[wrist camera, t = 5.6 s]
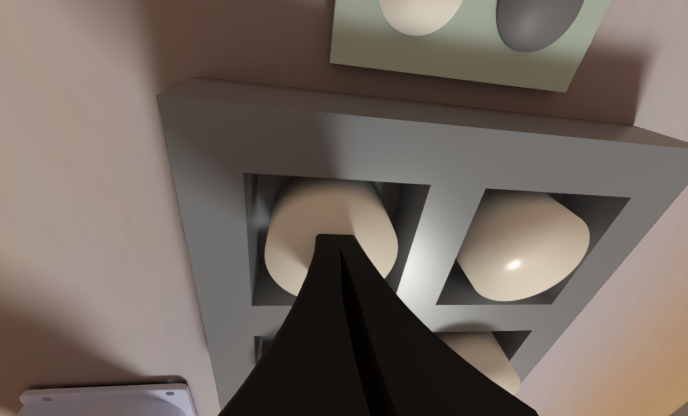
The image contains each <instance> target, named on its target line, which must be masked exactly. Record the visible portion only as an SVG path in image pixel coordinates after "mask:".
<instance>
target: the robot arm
mask: <svg viewBox="0 0 688 416" xmlns="http://www.w3.org/2000/svg"><path fill="white" fill-rule="evenodd" d="M19 400H20V402H21V403H22V404H23V405H24V406H23V407H22V409H21V410H20V411H19V413H18V414H17V415H16V416H197V414H196V411H195V408H194V404H193V401H192V398H191V395H190V391H189V388H188V386H187V385H186V384H183V383H173V384H150V385H127V386H104V387H81V388H58V389H35V390H26V391H24V392H23V393H22V395H21V396H20V397H19ZM218 416H539V415H538V414H537V412H536V411H535V410H534V409H532V408H531V407H529V406H528V405H527V404H525V403H524V402H522V401H521V400H519V399H518V398H516V397H515V396H514V395H512V394H511V393H509V392H508V391H506V390H505V389H503V388H502V387H501V386H499V385H498V384H496V383H495V382H493V381H492V380H491V379H489V378H488V377H487V376H485V375H484V374H483V373H481V372H480V371H479V370H478V369H476V368H475V367H474V366H472V365H471V364H470V363H469V362H467V361H466V360H465V359H463V358H462V357H461V356H460V355H459V354H457V353H456V352H455V351H454V350H453V349H452V348H450V347H449V346H448V345H447V344H446V343H445V342H444V341H442V340H441V339H440V338H439V337H438V336H437V335H436V334H434V333H433V332H432V331H431V330H430V329H429V328H428V327H427V326H426V325H425V324H424V323H423V322H422V321H421V320H420V319H419V318H418V317H417V316H416V315H415V314H414V313H413V312H412V311H411V310H410V309H409V308H408V307H407V306H406V305H405V303H404V302H403V301H402V300H401V299H400V298H399V297H398V295H397V294H396V293H395V292H394V291H393V289H392V288H391V287H390V286H389V284H388V283H387V282H386V281H385V279H384V278H383V277H382V275H381V274H380V273H379V271H378V270H377V269H376V267H375V266H374V265H373V263H372V262H371V260H370V259H369V257H368V256H367V254H366V253H365V251H364V250H363V248H362V247H361V245H360V243H359V242H358V240H357V239H356V237H355V236H354V235H345V234H318V235H317V236H316V238H315V250H314V254H313V257H312V261H311V264H310V266H309V269H308V272H307V275H306V277H305V280H304V282H303V284H302V287H301V289H300V291H299V293H298V296H297V298H296V300H295V302H294V304H293V306H292V308H291V310H290V311H289V313H288V315H287V317H286V319H285V321H284V322H283V324H282V326H281V327H280V329H279V331H278V332H277V334H276V336H275V337H274V339H273V341H272V342H271V344H270V345H269V347H268V348H267V350H266V351H265V353H264V354H263V356H262V357H261V359H260V360H259V361H258V363H257V364H256V366H255V367H254V369H253V370H252V371H251V373H250V374H249V376H248V377H247V378H246V380H245V381H244V383H243V384H242V385H241V387H240V388H239V389H238V391H237V392H236V393H235V394H234V396H233V397H232V398H231V400H230V401H229V402H228V403H227V405H226V406H225V407H224V408H223V410H222V411H221V412H220V413H219V415H218Z"/></svg>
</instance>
